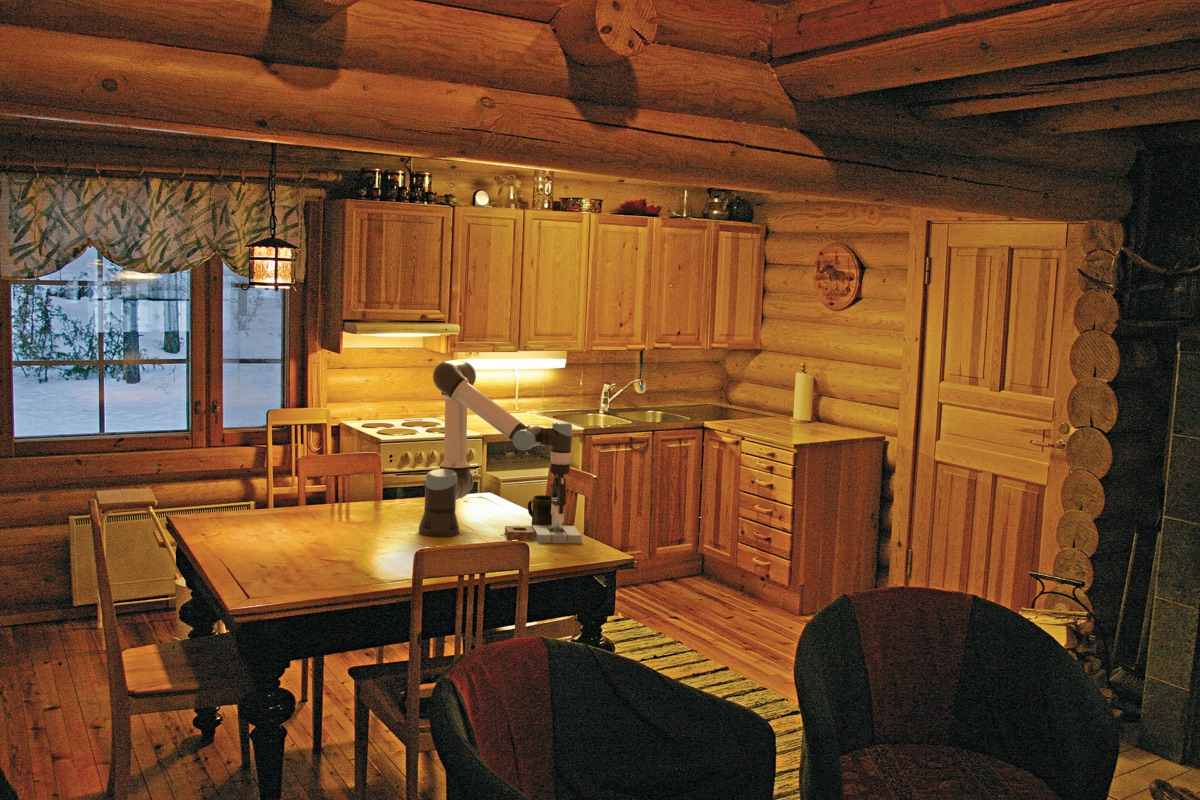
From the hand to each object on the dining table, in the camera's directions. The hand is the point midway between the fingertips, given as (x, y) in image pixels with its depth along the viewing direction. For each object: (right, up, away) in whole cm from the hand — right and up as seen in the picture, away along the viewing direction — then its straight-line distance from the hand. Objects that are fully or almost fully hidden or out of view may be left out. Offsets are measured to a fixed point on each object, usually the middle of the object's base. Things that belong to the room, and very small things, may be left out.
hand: (557, 518), depth 406 cm
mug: (-7, -6, +19) cm, 21 cm away
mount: (-14, -7, -1) cm, 16 cm away
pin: (0, -8, +1) cm, 8 cm away
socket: (0, -8, +1) cm, 8 cm away
